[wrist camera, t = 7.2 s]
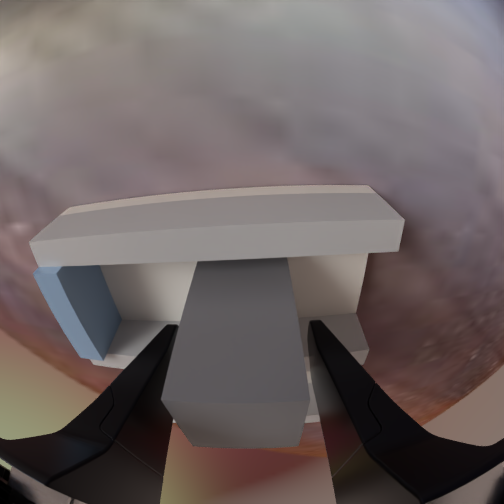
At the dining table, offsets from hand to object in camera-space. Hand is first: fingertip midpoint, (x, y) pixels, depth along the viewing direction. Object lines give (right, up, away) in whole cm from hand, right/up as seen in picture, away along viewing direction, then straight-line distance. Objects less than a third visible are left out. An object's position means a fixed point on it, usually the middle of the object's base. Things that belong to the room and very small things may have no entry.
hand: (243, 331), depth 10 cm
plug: (0, +2, +3) cm, 3 cm away
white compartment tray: (-1, -1, +5) cm, 5 cm away
